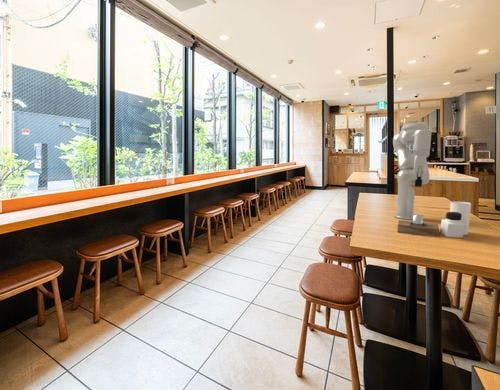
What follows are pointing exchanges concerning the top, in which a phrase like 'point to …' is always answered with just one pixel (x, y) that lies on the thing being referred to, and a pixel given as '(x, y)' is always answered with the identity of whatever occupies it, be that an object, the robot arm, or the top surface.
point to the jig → (418, 228)
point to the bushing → (417, 219)
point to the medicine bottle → (452, 225)
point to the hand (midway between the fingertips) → (418, 186)
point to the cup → (464, 210)
